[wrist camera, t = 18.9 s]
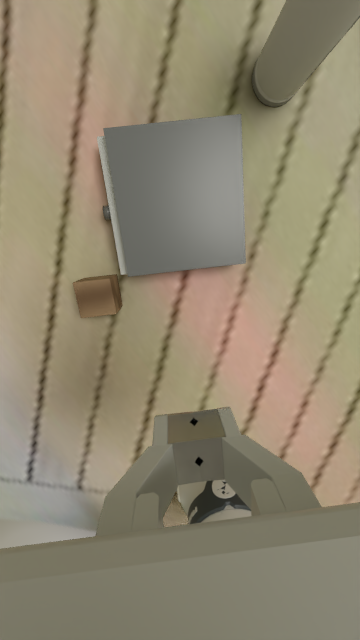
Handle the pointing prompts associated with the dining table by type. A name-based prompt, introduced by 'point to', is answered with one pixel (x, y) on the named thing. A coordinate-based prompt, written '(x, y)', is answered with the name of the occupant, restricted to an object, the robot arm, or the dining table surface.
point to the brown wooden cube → (98, 296)
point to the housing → (179, 193)
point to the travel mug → (300, 45)
